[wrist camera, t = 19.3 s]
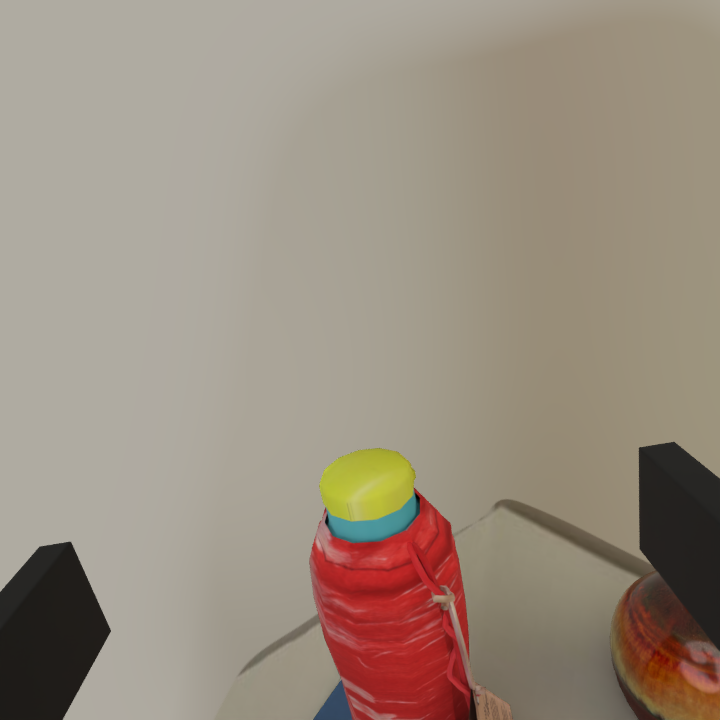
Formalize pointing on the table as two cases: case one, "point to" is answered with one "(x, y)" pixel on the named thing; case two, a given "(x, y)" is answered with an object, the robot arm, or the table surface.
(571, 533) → the table surface
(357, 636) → the water bottle
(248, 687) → the table surface
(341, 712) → the blue mat
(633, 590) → the vase
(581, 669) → the table surface
